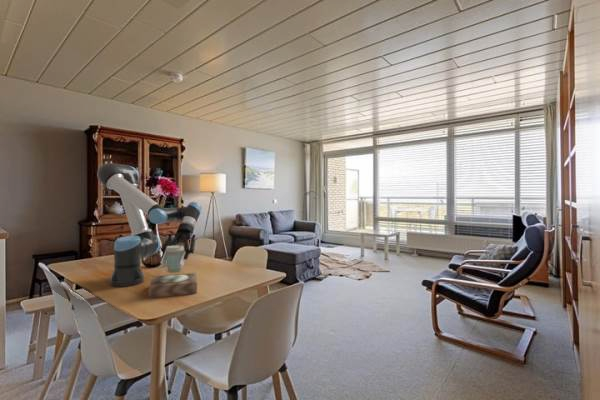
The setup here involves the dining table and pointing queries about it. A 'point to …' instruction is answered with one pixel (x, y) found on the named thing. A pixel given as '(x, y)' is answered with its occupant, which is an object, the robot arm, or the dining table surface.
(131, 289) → the dining table surface
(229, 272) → the dining table surface
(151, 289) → the walnut plinth
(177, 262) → the coffee cup
